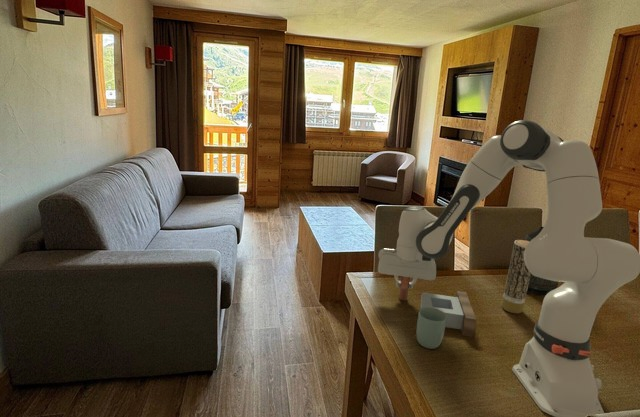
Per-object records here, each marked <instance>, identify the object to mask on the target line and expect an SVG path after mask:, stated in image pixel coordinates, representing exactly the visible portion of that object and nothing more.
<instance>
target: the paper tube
mask: <svg viewBox="0 0 640 417" xmlns="http://www.w3.org/2000/svg"><path fill="white" fill-rule="evenodd" d="M529 242H530V241H526V239H525V240H524V239H516V240H514V243H513V247H512V252H511V256H510V263H509V267H508V272H507V276H506V282H505V286H504V291H503V296H502V301H501V308H502V309H503V310H504V311H506V312H508V313H510V314H522V312H523V310H524V306H525V303H526V302H525V301H526V297H527V293H528V292H527V289H528V284H529V280H530V275H531V273H530V272H529V270H528V269H527V267H526V265H525V262H524V251H525V248H526V246H527V244H528V243H529Z"/></svg>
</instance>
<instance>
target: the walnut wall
mask: <svg viewBox="0 0 640 417" xmlns="http://www.w3.org/2000/svg"><path fill="white" fill-rule="evenodd" d="M455 297H458V299H459V302H460V305H461V309H462V312H463V315H464V316H463V322H462V328H461V329H460V331H461V334H462V335H463V336H465V337H466V336H467V337H474V334H475V333H474V332H475V327H476V323H477V317H476V314H475V312H474V309H473V306H472V304H471V302H470V299H469V296H468V293H467V292H466V291H459V290H457V291H456V296H455Z"/></svg>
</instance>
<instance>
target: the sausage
mask: <svg viewBox="0 0 640 417" xmlns="http://www.w3.org/2000/svg"><path fill="white" fill-rule="evenodd" d="M400 277H401V278H400V281H401V286H400V287H399V294H398V299H399V300H401V301H407V300H408V295H409V289H410V288H409V282H411V281H410V280H411V277H404V276H400Z"/></svg>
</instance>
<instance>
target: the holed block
mask: <svg viewBox="0 0 640 417" xmlns="http://www.w3.org/2000/svg"><path fill="white" fill-rule="evenodd" d="M419 306H420V309H422V308H424V307H431V308H436V309H438V310H441V311H442V312H444V313H445V314H446V318H447V319H446V326H445V328H449V329H450V328H451V329H456V330H461V328H462V322H463V316H464V315H463V312H462V309H461V305H460V302H459V299H458V297H456V296H450V295H444V294H437V293H436V294H435V293H429V292H422V293H421V297H420V305H419Z"/></svg>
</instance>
